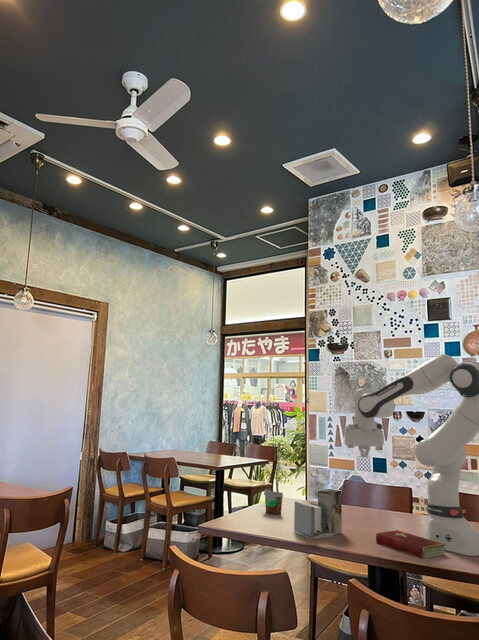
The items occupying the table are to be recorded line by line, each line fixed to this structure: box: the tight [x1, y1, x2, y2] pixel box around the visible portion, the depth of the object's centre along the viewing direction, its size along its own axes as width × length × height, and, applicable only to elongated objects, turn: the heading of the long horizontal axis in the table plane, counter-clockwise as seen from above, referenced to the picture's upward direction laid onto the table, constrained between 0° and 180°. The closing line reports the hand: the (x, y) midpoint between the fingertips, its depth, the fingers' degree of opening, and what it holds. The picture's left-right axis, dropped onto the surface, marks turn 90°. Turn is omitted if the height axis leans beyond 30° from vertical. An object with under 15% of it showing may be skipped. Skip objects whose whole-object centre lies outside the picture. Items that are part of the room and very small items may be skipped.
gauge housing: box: [293, 501, 334, 540], centre depth 179 cm, size 11×10×12 cm
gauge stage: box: [310, 502, 325, 533], centre depth 179 cm, size 9×5×10 cm, turn 28°
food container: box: [263, 488, 284, 516], centre depth 216 cm, size 12×6×10 cm, turn 25°
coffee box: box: [317, 488, 343, 536], centre depth 184 cm, size 9×6×16 cm
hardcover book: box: [375, 529, 446, 560], centre depth 164 cm, size 12×21×4 cm, turn 31°
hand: (364, 456), depth 199 cm, fingers closed
